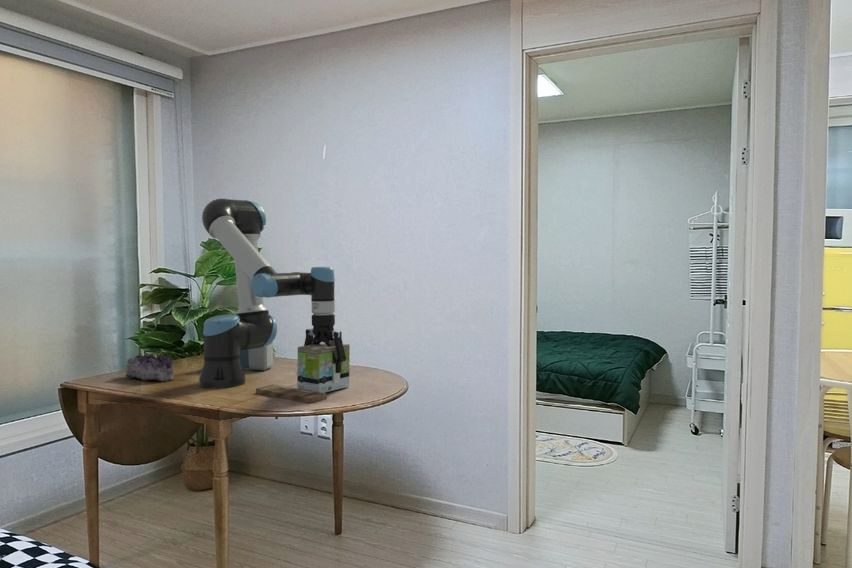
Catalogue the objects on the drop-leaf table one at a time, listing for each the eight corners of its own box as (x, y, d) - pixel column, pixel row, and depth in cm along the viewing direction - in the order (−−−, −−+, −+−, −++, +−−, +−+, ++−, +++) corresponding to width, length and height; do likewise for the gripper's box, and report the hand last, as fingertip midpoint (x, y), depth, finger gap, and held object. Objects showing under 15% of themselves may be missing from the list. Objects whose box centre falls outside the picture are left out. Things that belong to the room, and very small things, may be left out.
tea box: (319, 395, 187) (319, 349, 186) (296, 391, 192) (295, 346, 192) (350, 386, 199) (350, 343, 199) (328, 383, 205) (327, 340, 204)
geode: (187, 378, 216) (184, 351, 214) (161, 388, 206) (158, 361, 204) (148, 371, 225) (145, 345, 223) (121, 381, 214) (117, 354, 212)
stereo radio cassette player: (216, 369, 231) (215, 318, 230) (228, 365, 239) (227, 316, 238) (265, 371, 226) (264, 319, 226) (275, 367, 234) (275, 317, 234)
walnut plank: (256, 393, 191) (255, 388, 191) (272, 389, 197) (272, 384, 197) (310, 403, 178) (310, 397, 178) (326, 398, 184) (326, 393, 184)
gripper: (290, 313, 198) (291, 379, 199) (341, 316, 185) (342, 387, 186) (306, 311, 204) (307, 375, 205) (357, 314, 192) (357, 382, 193)
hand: (324, 381), depth 196 cm, fingers closed on tea box, 10 cm apart
